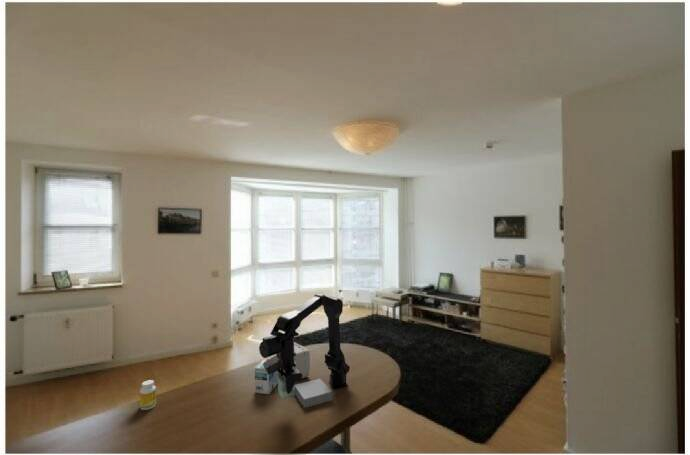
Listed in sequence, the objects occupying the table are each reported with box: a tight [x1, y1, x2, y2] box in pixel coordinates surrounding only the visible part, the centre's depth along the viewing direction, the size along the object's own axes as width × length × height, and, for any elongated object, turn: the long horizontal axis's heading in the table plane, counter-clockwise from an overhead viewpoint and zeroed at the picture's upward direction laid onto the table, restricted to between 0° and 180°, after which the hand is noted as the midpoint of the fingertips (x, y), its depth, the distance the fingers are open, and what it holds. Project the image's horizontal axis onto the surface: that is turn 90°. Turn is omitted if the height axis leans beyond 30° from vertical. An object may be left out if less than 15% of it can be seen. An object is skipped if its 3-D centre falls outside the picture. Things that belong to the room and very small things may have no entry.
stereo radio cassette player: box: [275, 330, 311, 379], centre depth 156 cm, size 21×8×20 cm, turn 40°
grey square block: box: [295, 378, 333, 409], centre depth 135 cm, size 12×12×4 cm
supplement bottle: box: [139, 379, 157, 411], centre depth 127 cm, size 5×5×10 cm
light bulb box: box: [254, 357, 279, 395], centre depth 142 cm, size 11×7×11 cm, turn 168°
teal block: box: [277, 376, 296, 400], centre depth 123 cm, size 5×5×6 cm
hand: (286, 389), depth 123 cm, fingers closed on teal block, 5 cm apart
